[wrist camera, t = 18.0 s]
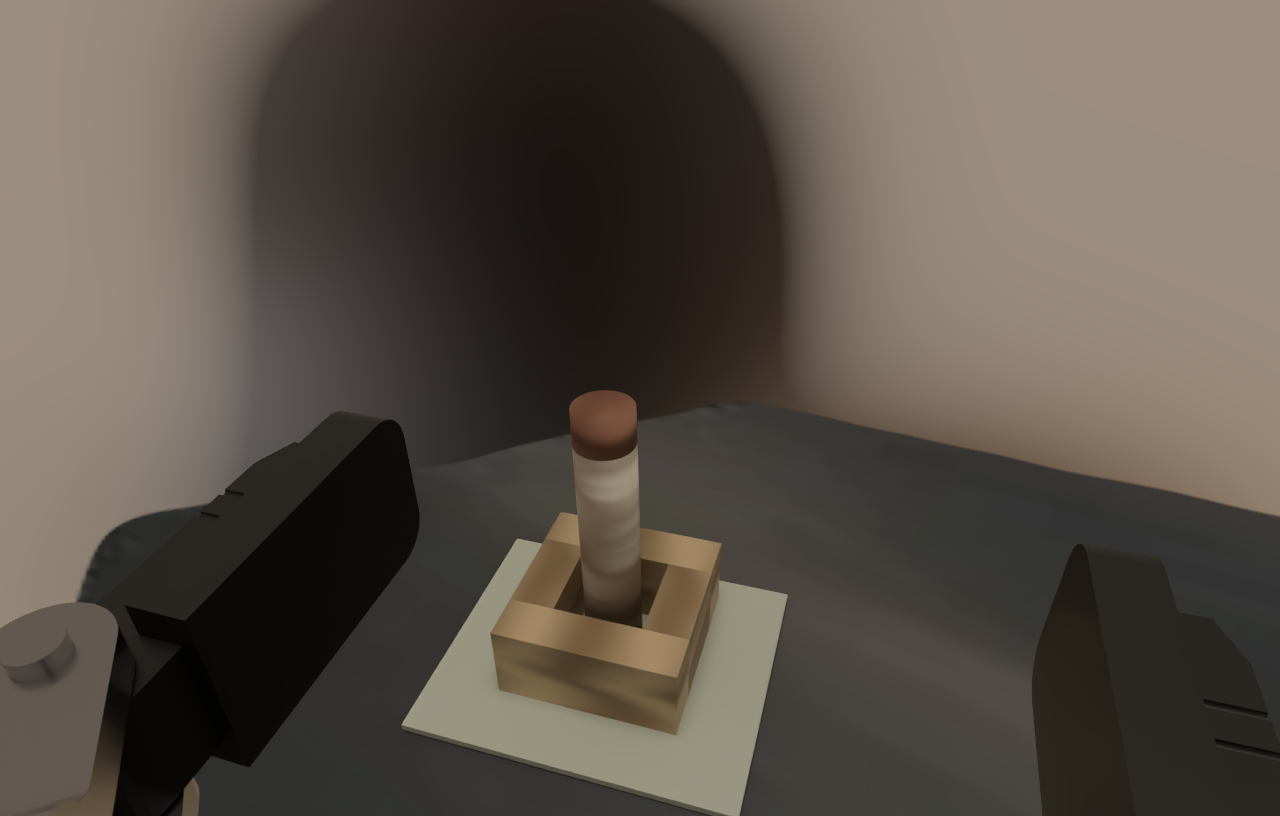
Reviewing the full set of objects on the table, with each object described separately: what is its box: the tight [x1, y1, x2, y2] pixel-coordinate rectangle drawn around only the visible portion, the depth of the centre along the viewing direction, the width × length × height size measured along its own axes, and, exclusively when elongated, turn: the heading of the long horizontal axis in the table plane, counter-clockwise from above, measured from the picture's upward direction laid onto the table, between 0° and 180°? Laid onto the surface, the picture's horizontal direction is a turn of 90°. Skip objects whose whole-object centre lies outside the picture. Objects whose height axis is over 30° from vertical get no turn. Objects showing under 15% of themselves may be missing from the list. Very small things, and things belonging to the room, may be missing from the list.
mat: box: [401, 539, 788, 816], centre depth 49 cm, size 18×15×1 cm
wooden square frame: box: [490, 512, 721, 735], centre depth 48 cm, size 10×10×4 cm
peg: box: [569, 390, 643, 629], centre depth 45 cm, size 3×3×16 cm
